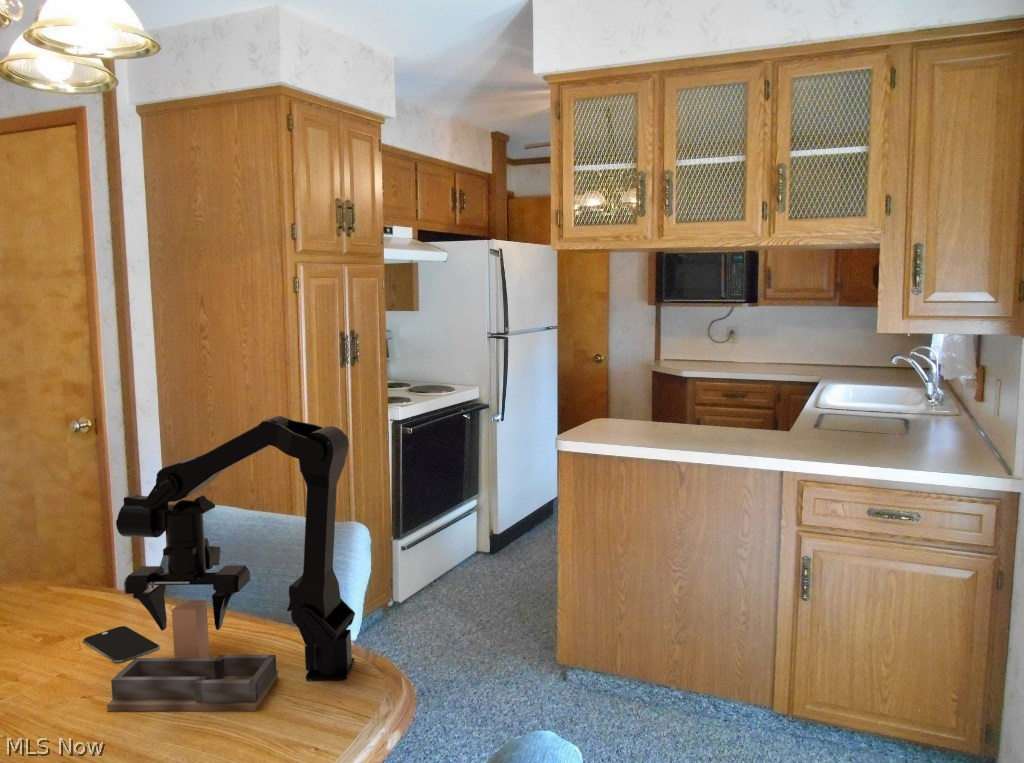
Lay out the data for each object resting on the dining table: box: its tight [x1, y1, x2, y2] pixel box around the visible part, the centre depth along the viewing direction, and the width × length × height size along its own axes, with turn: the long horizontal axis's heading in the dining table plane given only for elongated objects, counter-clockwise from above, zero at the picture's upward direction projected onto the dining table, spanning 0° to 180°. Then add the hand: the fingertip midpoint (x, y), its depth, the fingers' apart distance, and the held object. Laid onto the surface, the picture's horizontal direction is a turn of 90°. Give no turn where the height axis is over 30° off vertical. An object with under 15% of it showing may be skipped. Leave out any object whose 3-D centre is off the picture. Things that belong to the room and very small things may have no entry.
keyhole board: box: [106, 654, 279, 712], centre depth 116 cm, size 22×10×4 cm, turn 89°
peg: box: [171, 599, 211, 658], centre depth 126 cm, size 4×4×10 cm
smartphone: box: [82, 625, 161, 664], centre depth 134 cm, size 8×1×15 cm
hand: (191, 629), depth 126 cm, fingers open, 9 cm apart
